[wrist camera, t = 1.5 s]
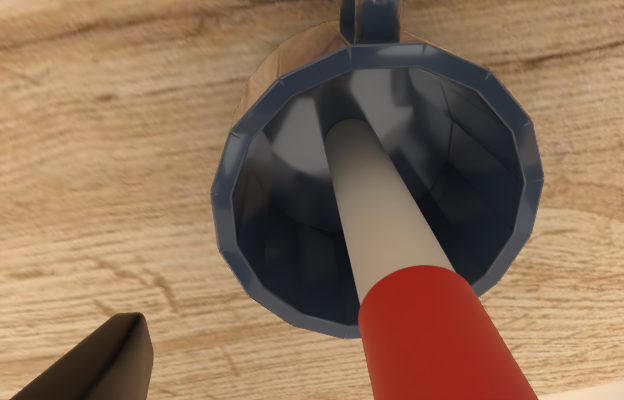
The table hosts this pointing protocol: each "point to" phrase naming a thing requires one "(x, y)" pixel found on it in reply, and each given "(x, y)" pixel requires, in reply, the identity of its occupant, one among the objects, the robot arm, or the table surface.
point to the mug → (399, 146)
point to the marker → (411, 287)
